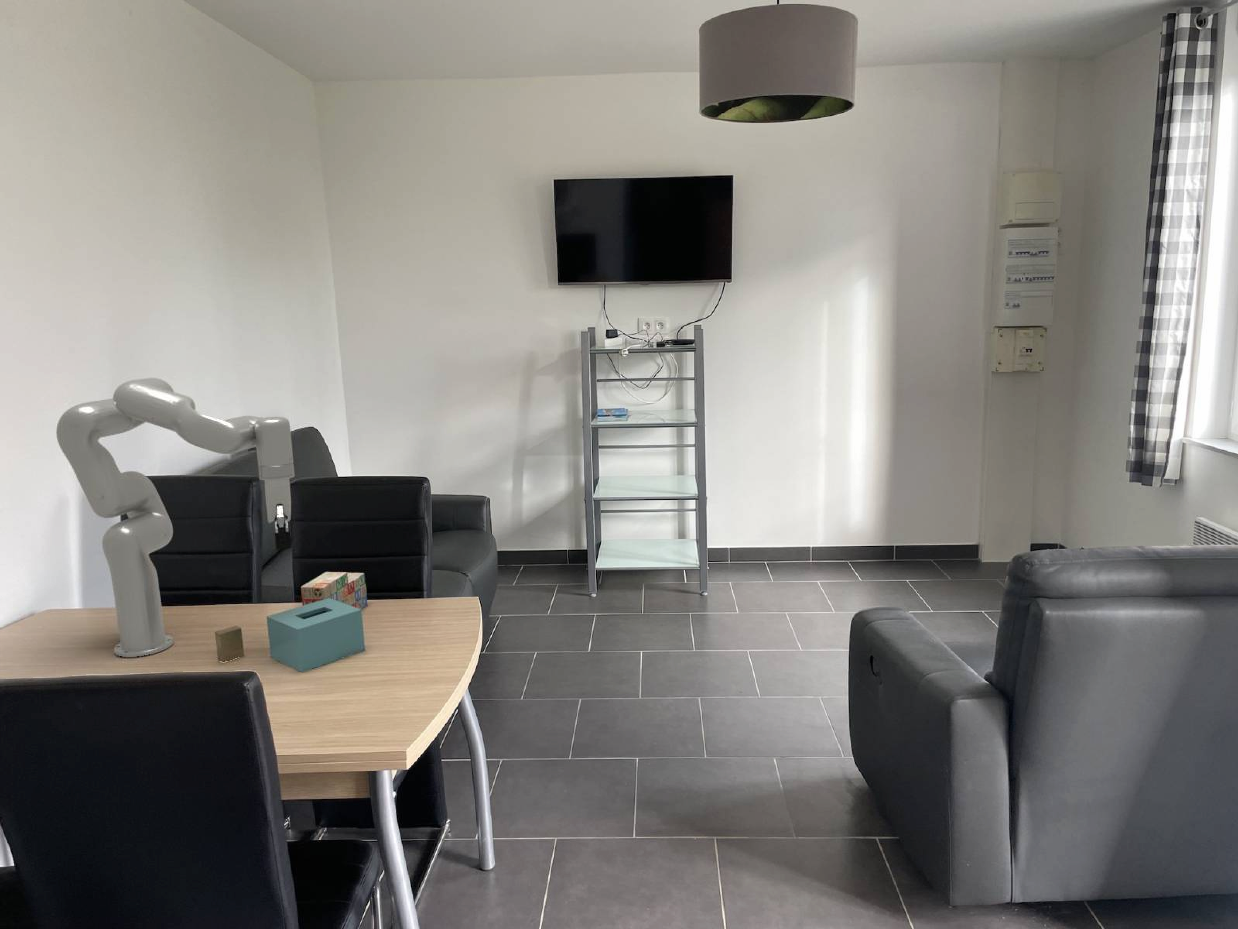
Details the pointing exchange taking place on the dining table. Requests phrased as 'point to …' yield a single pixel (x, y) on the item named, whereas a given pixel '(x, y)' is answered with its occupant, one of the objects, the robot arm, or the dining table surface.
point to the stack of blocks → (337, 589)
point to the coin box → (315, 634)
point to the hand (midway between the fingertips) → (283, 543)
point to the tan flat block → (229, 643)
